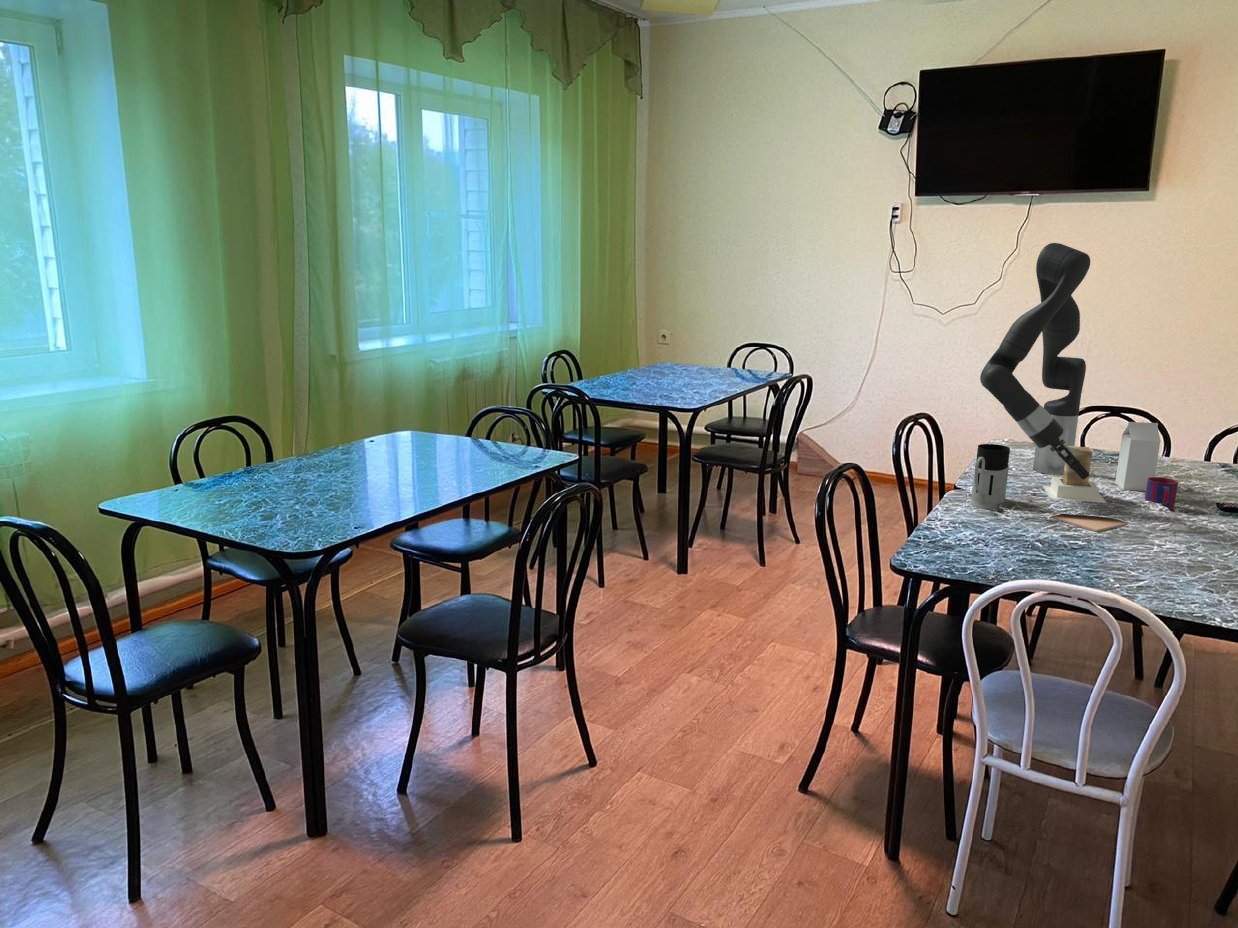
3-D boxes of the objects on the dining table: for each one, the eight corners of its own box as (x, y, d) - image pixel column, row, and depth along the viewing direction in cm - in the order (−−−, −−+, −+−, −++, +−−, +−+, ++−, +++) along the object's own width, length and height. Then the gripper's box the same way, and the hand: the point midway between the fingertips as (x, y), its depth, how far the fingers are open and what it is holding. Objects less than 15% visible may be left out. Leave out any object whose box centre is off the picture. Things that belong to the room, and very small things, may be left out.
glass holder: (1011, 504, 234) (1018, 447, 231) (989, 516, 224) (996, 456, 221) (977, 498, 240) (983, 441, 237) (954, 509, 230) (960, 450, 227)
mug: (1173, 504, 237) (1177, 478, 235) (1176, 514, 228) (1180, 488, 226) (1143, 501, 239) (1147, 475, 238) (1145, 510, 231) (1149, 484, 229)
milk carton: (1151, 496, 243) (1163, 425, 239) (1122, 494, 245) (1133, 424, 240) (1142, 489, 250) (1153, 420, 246) (1114, 487, 252) (1124, 419, 247)
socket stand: (1049, 504, 236) (1052, 486, 234) (1041, 490, 248) (1043, 474, 247) (1106, 508, 232) (1108, 491, 231) (1094, 494, 244) (1097, 478, 243)
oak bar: (1064, 495, 238) (1070, 450, 235) (1061, 490, 243) (1067, 445, 240) (1086, 497, 237) (1092, 451, 234) (1082, 492, 241) (1088, 447, 238)
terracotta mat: (1050, 518, 224) (1050, 516, 224) (1081, 511, 229) (1081, 509, 229) (1096, 531, 213) (1096, 529, 213) (1127, 524, 219) (1128, 522, 219)
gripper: (1056, 421, 230) (1103, 472, 230) (1047, 411, 243) (1091, 459, 243) (1031, 440, 233) (1077, 490, 232) (1023, 429, 246) (1066, 477, 246)
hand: (1084, 474), depth 238 cm, fingers closed on oak bar, 5 cm apart
